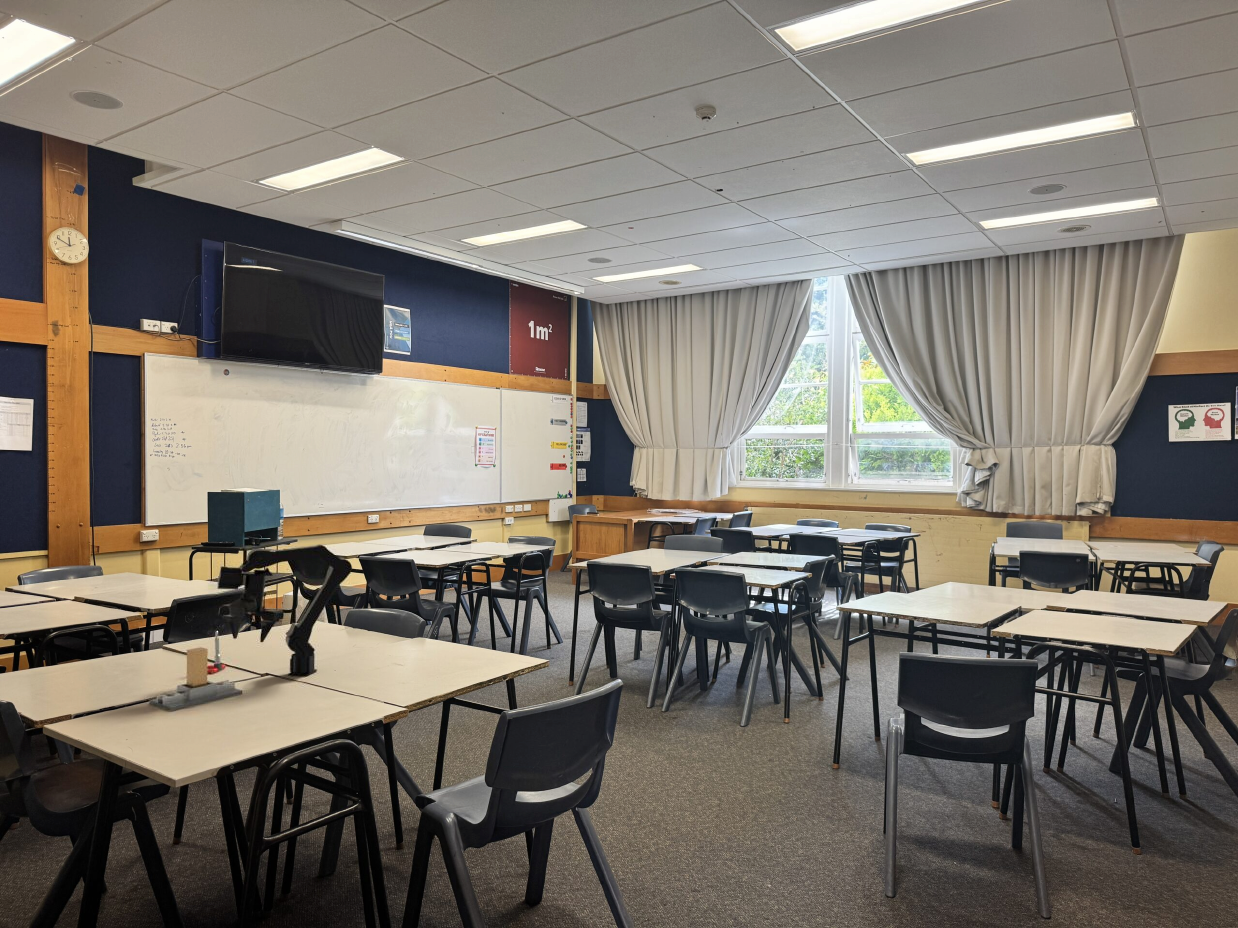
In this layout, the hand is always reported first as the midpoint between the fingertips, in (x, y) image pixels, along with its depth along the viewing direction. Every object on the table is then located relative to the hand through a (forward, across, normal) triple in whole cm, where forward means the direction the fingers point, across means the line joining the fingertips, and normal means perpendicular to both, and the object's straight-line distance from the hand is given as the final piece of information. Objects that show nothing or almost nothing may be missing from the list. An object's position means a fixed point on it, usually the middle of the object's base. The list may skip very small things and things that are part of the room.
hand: (248, 640), depth 243 cm
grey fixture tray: (+14, -1, -20) cm, 24 cm away
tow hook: (+14, -19, +8) cm, 24 cm away
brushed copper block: (+12, -1, -20) cm, 23 cm away
